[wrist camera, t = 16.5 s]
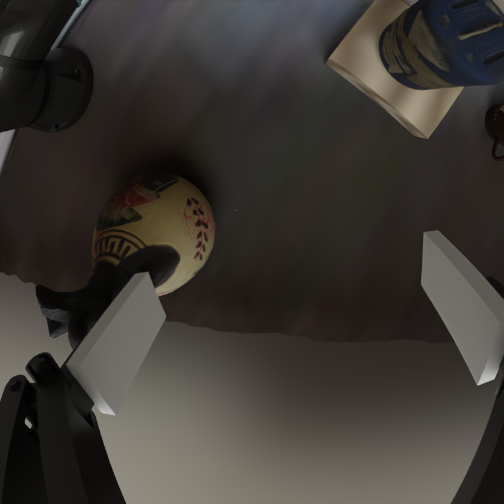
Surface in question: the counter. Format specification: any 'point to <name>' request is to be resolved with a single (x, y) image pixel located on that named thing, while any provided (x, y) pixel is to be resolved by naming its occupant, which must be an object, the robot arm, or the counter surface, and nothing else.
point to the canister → (445, 44)
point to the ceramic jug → (136, 249)
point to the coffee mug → (496, 127)
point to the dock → (380, 81)
